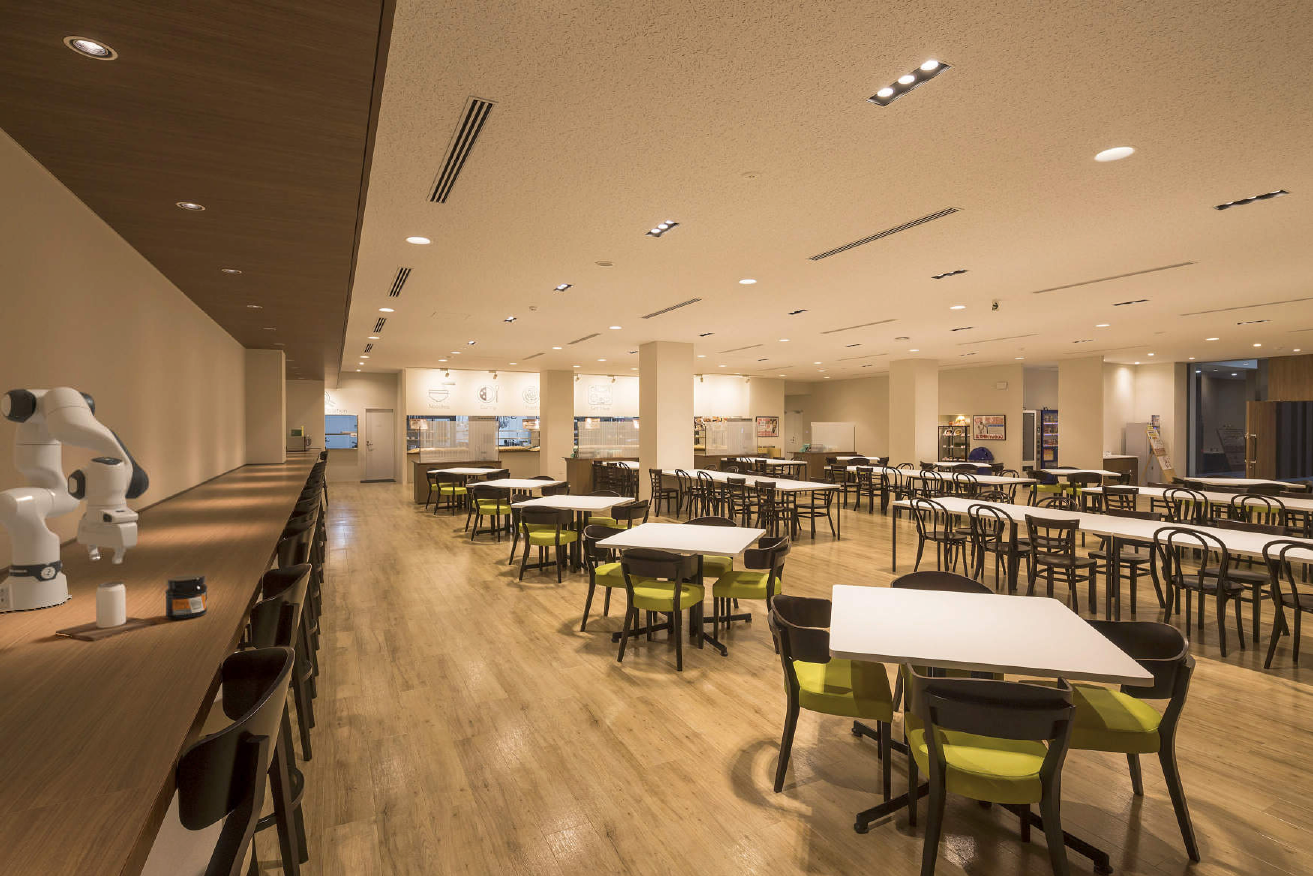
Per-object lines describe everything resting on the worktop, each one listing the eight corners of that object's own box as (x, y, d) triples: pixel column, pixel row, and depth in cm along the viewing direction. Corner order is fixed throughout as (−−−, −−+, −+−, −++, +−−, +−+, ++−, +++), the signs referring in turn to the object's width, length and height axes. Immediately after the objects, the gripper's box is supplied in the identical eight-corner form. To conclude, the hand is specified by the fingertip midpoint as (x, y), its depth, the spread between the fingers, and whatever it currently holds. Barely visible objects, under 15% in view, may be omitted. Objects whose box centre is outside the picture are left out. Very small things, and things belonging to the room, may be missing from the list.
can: (131, 622, 187) (131, 582, 187) (109, 629, 181) (108, 587, 180) (113, 621, 188) (113, 581, 188) (90, 628, 182) (89, 586, 182)
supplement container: (202, 619, 195) (201, 579, 195) (160, 622, 191) (159, 582, 191) (211, 609, 205) (211, 572, 204) (172, 613, 201) (171, 575, 200)
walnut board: (55, 634, 179) (55, 631, 179) (119, 618, 194) (119, 615, 194) (93, 641, 174) (93, 637, 174) (156, 624, 189) (156, 620, 189)
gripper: (69, 512, 184) (69, 560, 184) (118, 517, 177) (117, 567, 178) (95, 510, 190) (94, 556, 190) (142, 515, 183) (141, 562, 184)
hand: (105, 561), depth 184 cm, fingers open, 8 cm apart
